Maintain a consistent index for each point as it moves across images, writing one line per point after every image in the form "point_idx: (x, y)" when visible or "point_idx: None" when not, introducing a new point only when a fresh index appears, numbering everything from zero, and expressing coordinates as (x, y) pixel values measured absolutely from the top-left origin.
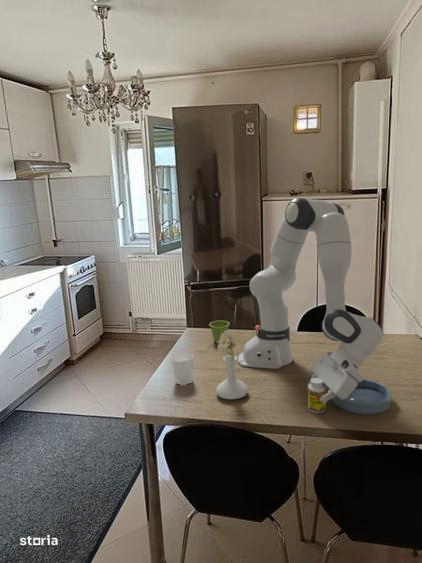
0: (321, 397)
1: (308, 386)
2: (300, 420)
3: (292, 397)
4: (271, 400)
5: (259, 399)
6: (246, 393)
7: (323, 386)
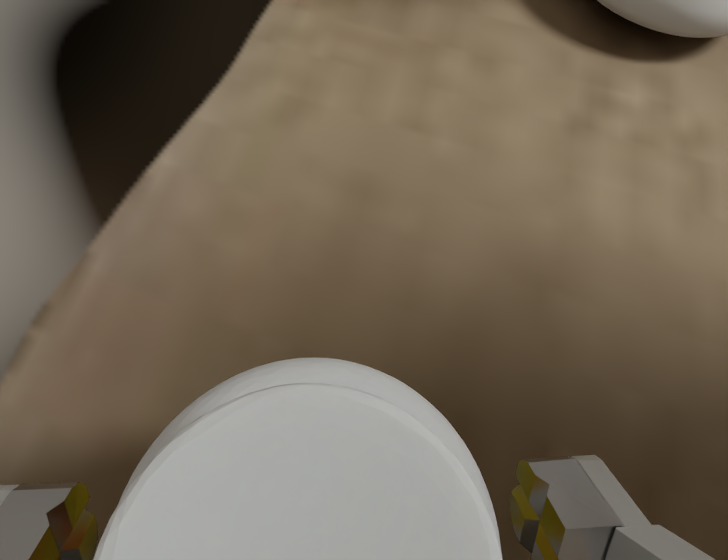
0: (11, 516)
1: (367, 367)
2: (177, 272)
3: (588, 344)
4: (549, 167)
5: (572, 99)
6: (619, 3)
7: None
